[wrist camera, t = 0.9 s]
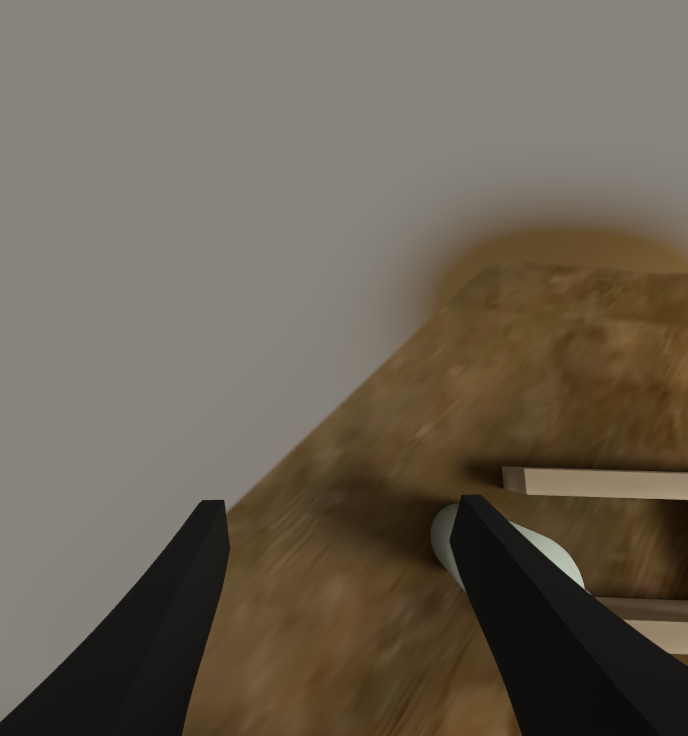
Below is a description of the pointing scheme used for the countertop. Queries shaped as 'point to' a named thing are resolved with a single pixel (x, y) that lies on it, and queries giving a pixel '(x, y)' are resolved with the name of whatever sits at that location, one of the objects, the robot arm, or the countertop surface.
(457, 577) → the sage bottle
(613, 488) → the oak rest
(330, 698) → the countertop surface
